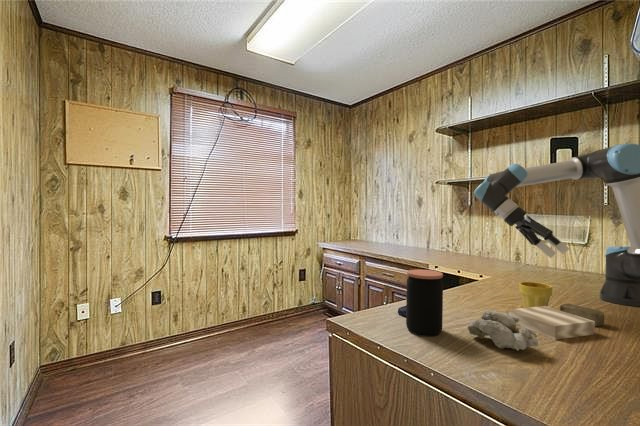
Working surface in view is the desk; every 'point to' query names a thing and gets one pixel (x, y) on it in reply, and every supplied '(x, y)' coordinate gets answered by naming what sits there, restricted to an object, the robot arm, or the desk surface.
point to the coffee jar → (424, 302)
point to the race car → (401, 311)
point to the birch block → (553, 322)
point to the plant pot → (535, 293)
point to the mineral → (503, 330)
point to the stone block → (584, 313)
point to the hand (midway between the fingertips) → (559, 253)
